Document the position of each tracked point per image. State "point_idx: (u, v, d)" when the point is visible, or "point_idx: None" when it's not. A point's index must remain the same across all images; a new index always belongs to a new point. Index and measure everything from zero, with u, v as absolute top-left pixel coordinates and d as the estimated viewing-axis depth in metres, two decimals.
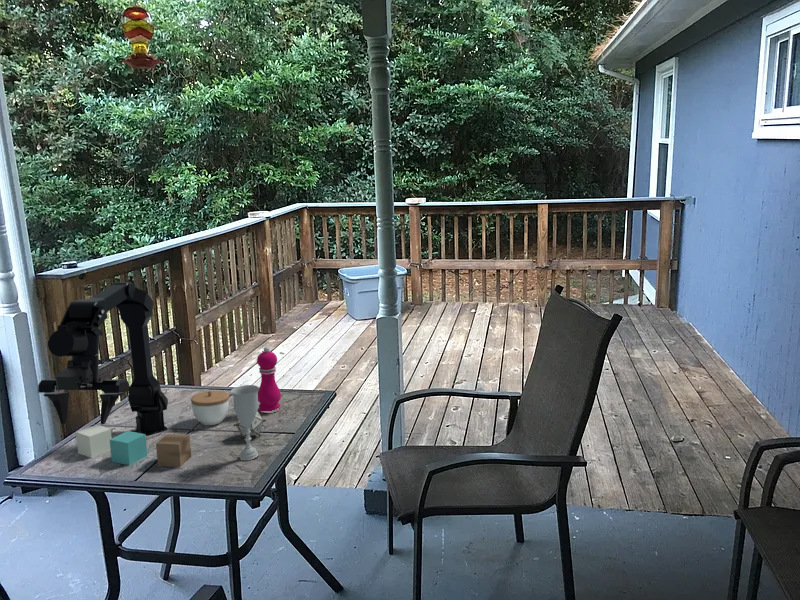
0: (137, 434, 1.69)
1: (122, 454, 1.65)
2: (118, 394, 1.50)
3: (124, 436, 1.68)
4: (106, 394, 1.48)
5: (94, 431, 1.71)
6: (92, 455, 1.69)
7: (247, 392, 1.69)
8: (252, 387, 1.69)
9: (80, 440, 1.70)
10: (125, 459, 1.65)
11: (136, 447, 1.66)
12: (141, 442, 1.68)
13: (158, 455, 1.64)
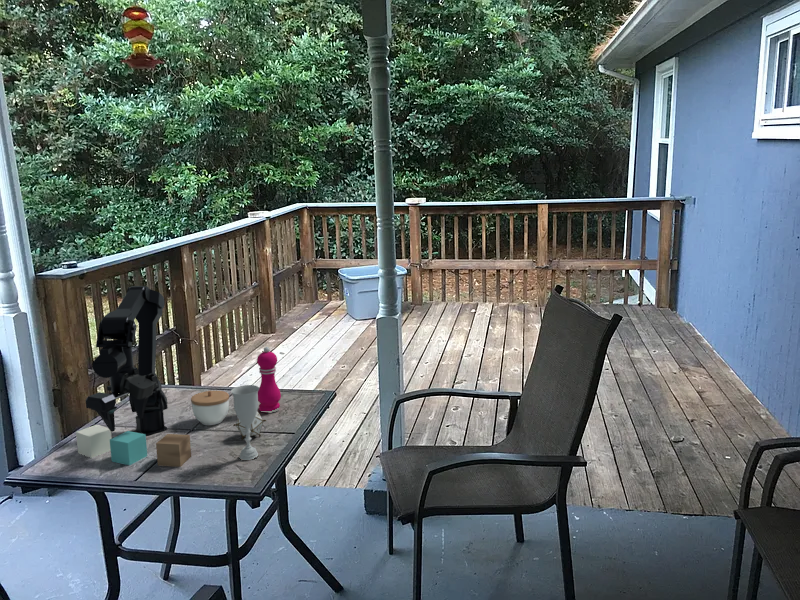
0: (137, 434, 1.69)
1: (122, 454, 1.65)
2: None
3: (124, 436, 1.68)
4: None
5: (94, 431, 1.71)
6: (92, 455, 1.69)
7: (247, 392, 1.69)
8: (252, 387, 1.69)
9: (80, 440, 1.70)
10: (125, 459, 1.65)
11: (136, 447, 1.66)
12: (141, 442, 1.68)
13: (158, 455, 1.64)
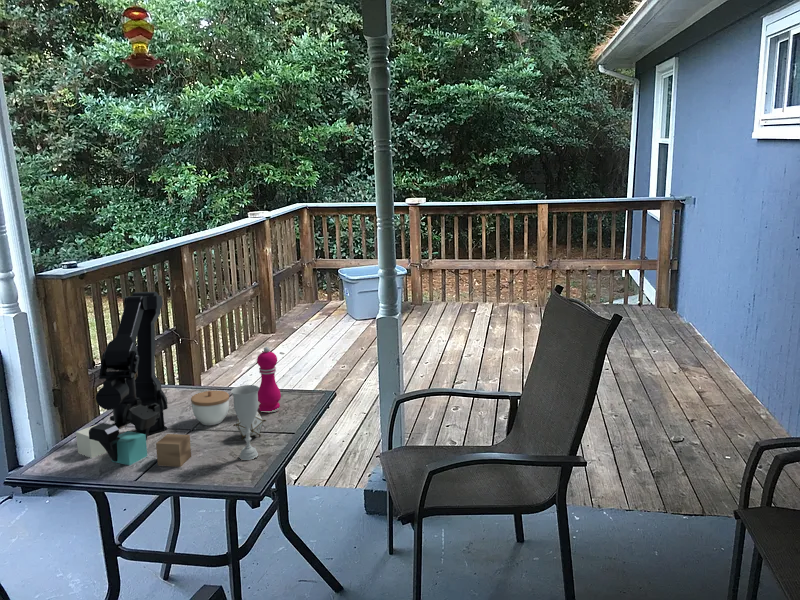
0: (137, 434, 1.69)
1: (122, 454, 1.65)
2: None
3: (124, 436, 1.68)
4: None
5: None
6: (92, 455, 1.69)
7: (247, 392, 1.69)
8: (252, 387, 1.69)
9: (80, 440, 1.70)
10: (125, 459, 1.65)
11: (136, 447, 1.66)
12: (141, 442, 1.68)
13: (158, 455, 1.64)
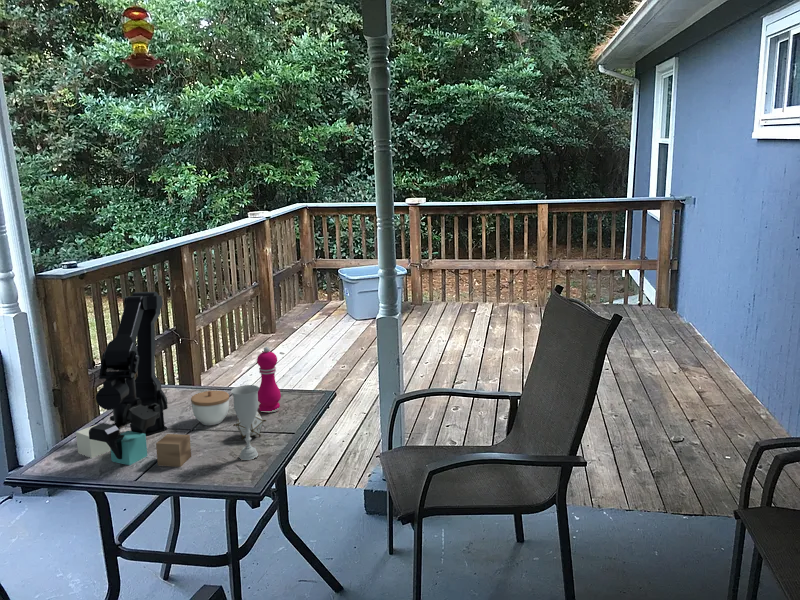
0: (137, 434, 1.69)
1: (122, 454, 1.65)
2: None
3: None
4: None
5: None
6: (92, 455, 1.69)
7: (247, 392, 1.69)
8: (252, 387, 1.69)
9: (80, 440, 1.70)
10: (125, 459, 1.65)
11: (136, 447, 1.66)
12: (141, 441, 1.68)
13: (158, 455, 1.64)
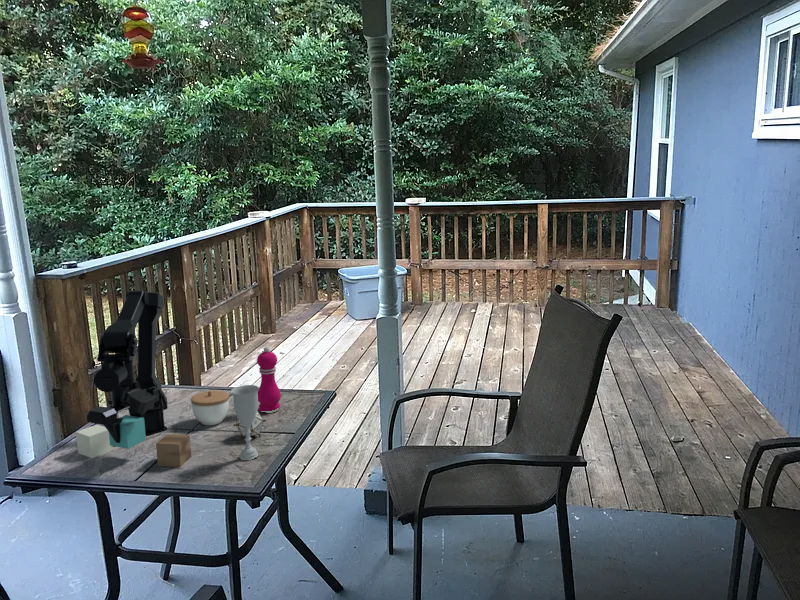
0: (135, 418, 1.68)
1: (120, 438, 1.64)
2: None
3: (123, 419, 1.67)
4: None
5: (94, 431, 1.71)
6: (92, 455, 1.69)
7: (247, 392, 1.69)
8: (252, 387, 1.69)
9: (80, 440, 1.70)
10: (124, 443, 1.64)
11: (135, 430, 1.65)
12: (140, 425, 1.67)
13: (158, 455, 1.64)
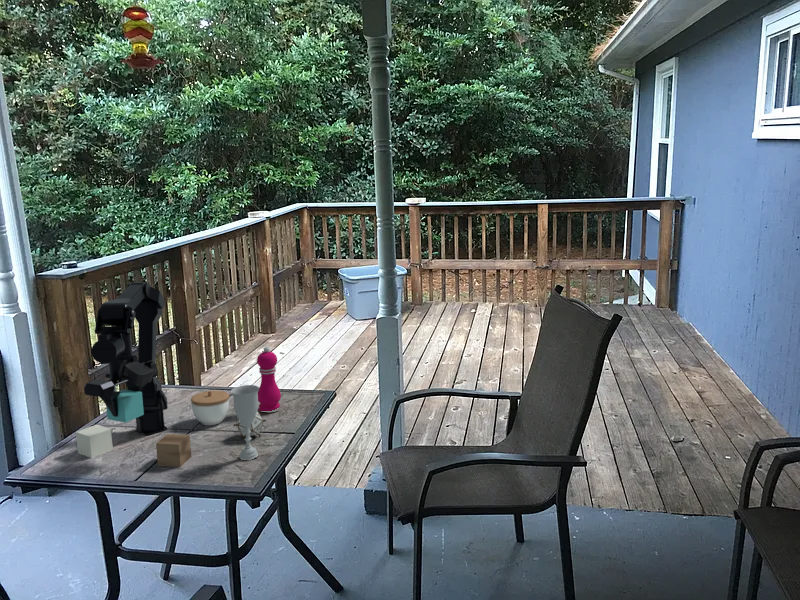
0: (133, 392, 1.67)
1: (118, 411, 1.63)
2: None
3: (120, 393, 1.66)
4: None
5: (94, 431, 1.71)
6: (92, 455, 1.69)
7: (247, 392, 1.69)
8: (252, 387, 1.69)
9: (80, 440, 1.70)
10: (121, 416, 1.63)
11: (132, 404, 1.64)
12: (137, 399, 1.66)
13: (158, 455, 1.64)
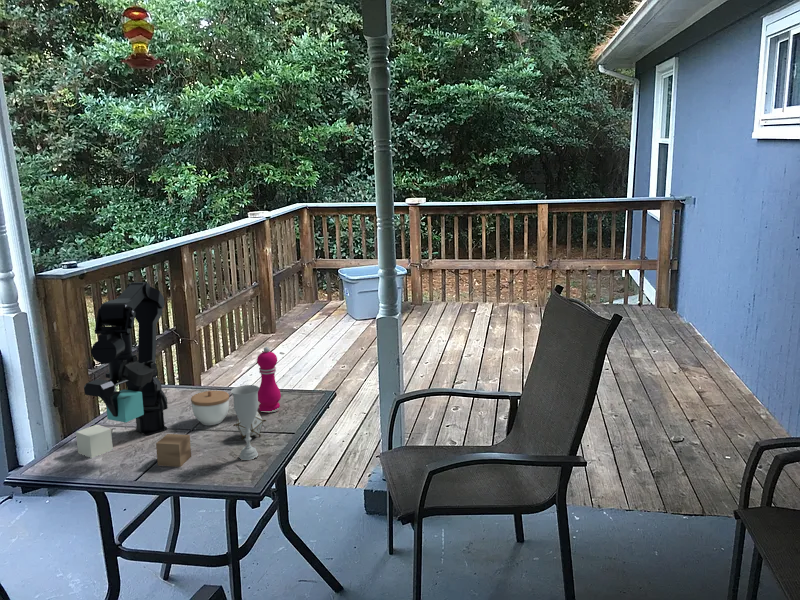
0: (133, 392, 1.67)
1: (118, 411, 1.63)
2: None
3: (120, 393, 1.66)
4: None
5: (94, 431, 1.71)
6: (92, 455, 1.69)
7: (247, 392, 1.69)
8: (252, 387, 1.69)
9: (80, 440, 1.70)
10: (121, 416, 1.63)
11: (132, 404, 1.64)
12: (137, 399, 1.66)
13: (158, 455, 1.64)
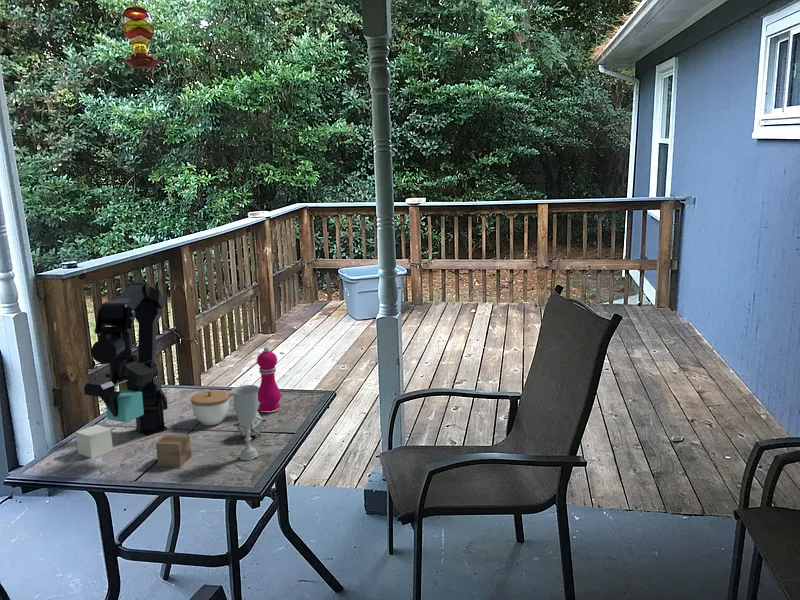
0: (133, 392, 1.67)
1: (118, 411, 1.63)
2: None
3: (120, 393, 1.66)
4: None
5: (94, 431, 1.71)
6: (92, 455, 1.69)
7: (247, 392, 1.69)
8: (252, 387, 1.69)
9: (80, 440, 1.70)
10: (121, 416, 1.63)
11: (132, 404, 1.64)
12: (137, 399, 1.66)
13: (158, 455, 1.64)
